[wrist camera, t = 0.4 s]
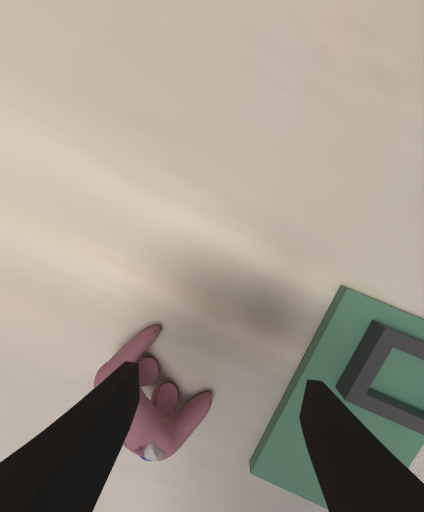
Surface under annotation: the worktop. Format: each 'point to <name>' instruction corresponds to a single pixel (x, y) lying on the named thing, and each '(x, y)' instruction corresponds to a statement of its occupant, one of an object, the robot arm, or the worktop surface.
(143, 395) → the pink toy figure
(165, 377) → the worktop surface
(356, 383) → the frame
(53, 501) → the robot arm
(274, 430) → the circuit board
